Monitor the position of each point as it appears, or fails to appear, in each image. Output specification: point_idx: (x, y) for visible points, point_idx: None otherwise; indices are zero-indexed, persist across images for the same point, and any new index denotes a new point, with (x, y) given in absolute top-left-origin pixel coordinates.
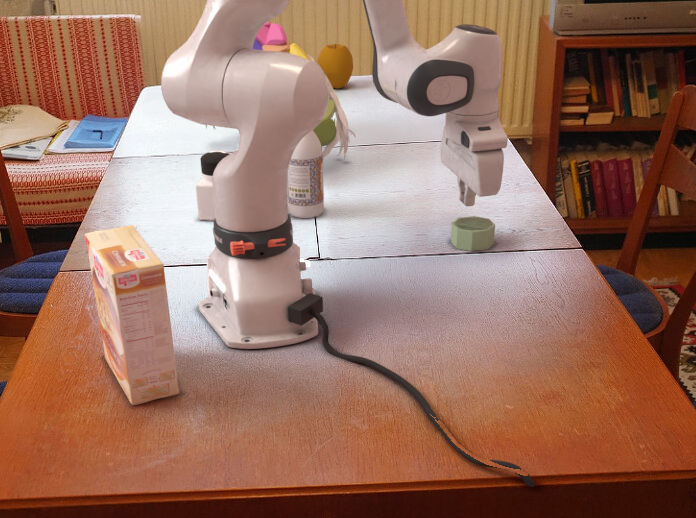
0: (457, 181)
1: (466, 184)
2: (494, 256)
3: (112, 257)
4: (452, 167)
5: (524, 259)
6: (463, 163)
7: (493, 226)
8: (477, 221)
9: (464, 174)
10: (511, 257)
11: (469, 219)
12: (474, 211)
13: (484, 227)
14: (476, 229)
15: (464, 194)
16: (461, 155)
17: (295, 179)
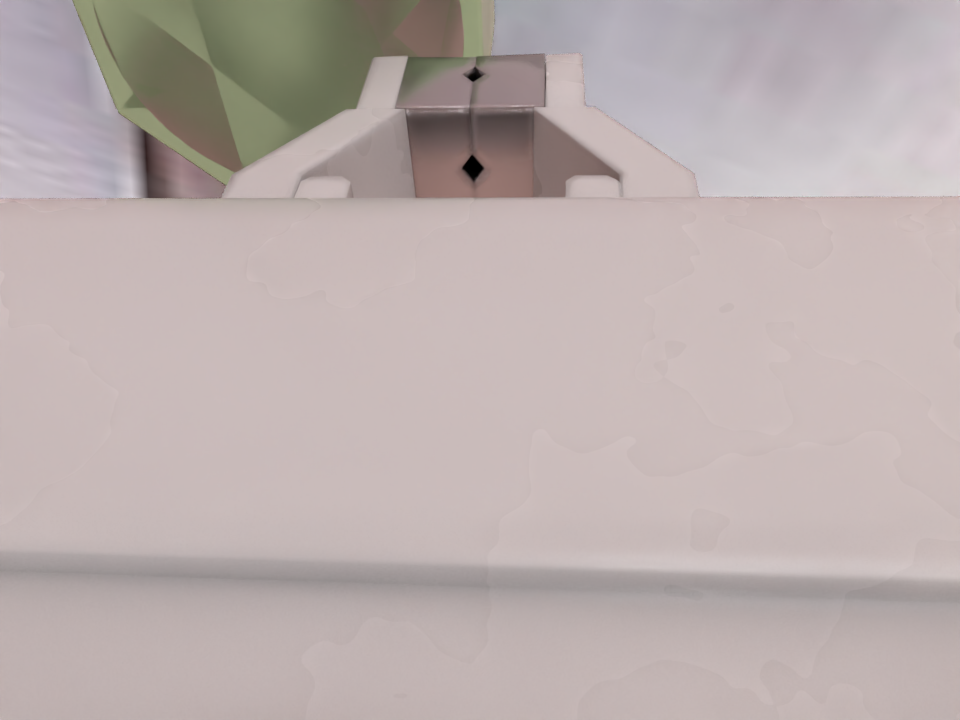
0: (683, 166)
1: (41, 199)
2: (46, 34)
3: None
4: (824, 248)
5: (22, 197)
6: (105, 477)
7: (214, 176)
8: (334, 90)
9: (85, 299)
10: (44, 137)
11: (398, 34)
12: (936, 193)
13: (181, 99)
14: (127, 11)
15: (385, 119)
16: (366, 626)
17: None
